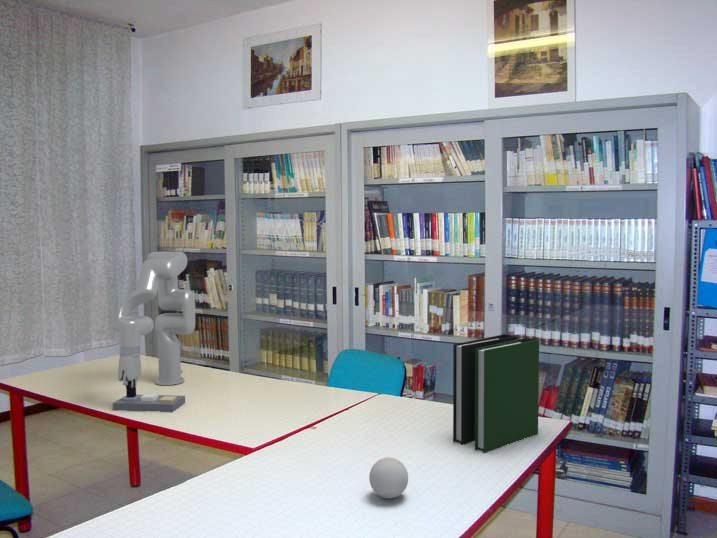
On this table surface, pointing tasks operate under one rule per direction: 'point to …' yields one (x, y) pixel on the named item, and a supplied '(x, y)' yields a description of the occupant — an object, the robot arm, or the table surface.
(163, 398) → the tan key
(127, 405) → the keypad
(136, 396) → the slate key
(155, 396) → the ivory key
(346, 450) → the table surface
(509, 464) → the table surface
